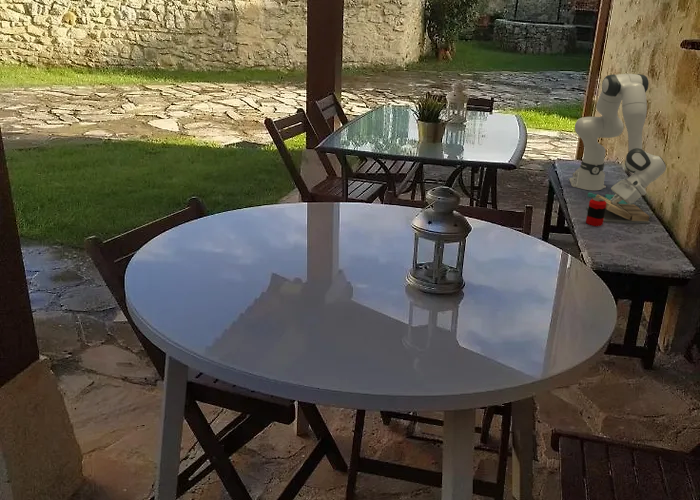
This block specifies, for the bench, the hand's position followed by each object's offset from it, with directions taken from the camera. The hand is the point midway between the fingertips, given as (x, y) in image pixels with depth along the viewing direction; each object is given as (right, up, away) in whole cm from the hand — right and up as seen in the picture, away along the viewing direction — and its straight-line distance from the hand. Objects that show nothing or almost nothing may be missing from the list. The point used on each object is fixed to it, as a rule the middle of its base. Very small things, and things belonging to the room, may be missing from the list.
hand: (611, 202), depth 329 cm
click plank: (+1, -3, +1) cm, 3 cm away
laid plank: (+11, -7, +3) cm, 13 cm away
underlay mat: (+4, -6, +3) cm, 8 cm away
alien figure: (+8, +1, +22) cm, 24 cm away
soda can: (-12, -11, -9) cm, 18 cm away
